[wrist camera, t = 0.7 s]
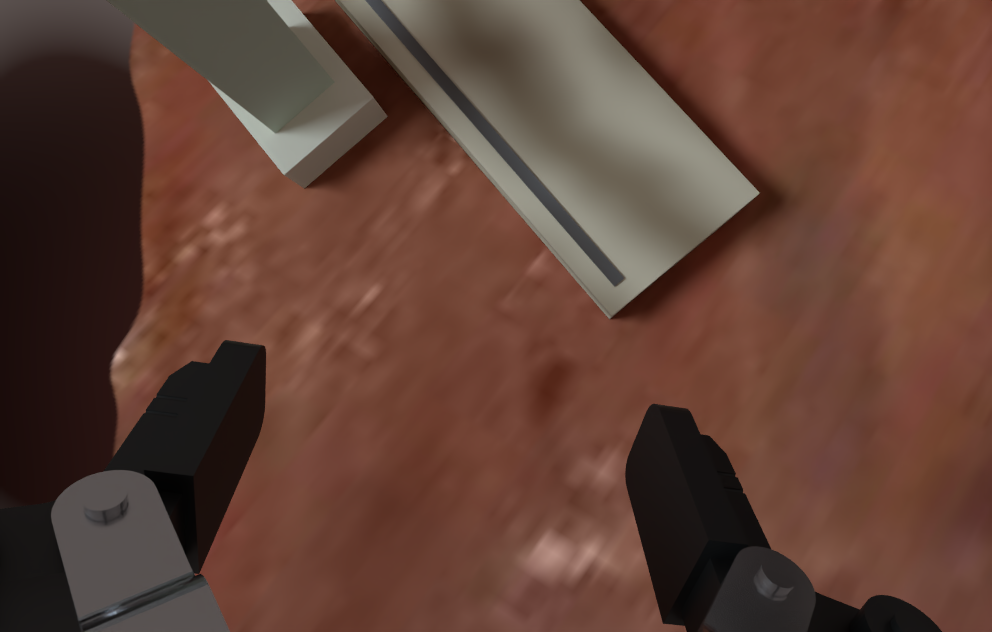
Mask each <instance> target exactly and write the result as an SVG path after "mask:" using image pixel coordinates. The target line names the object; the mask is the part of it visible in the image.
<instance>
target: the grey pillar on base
mask: <svg viewBox="0 0 992 632" xmlns="http://www.w3.org/2000/svg"><path fill="white" fill-rule="evenodd" d="M107 1H108V2H109V3H110V4H112V5H113V6H114V7H116V8H117V9H118V10H120V11H121V12H122V13H123V14H124V15H126V16H127V17H128V18H129V19H131V20H132V21H133V22H134V23H136V24H137V25H138V26H140V27H141V28H142V29H143V30H145V31H146V32H147V33H148V34H150V35H151V36H152V37H154V38H155V39H156V40H157V41H159V42H160V43H161V44H162V45H164V46H165V47H166V48H168V49H169V50H170V51H171V52H173V53H174V54H175V55H176V56H178V57H179V58H180V59H182V60H183V61H184V62H185V63H187V64H188V65H189V66H190V67H192V68H193V69H194V70H195V71H197V72H198V73H199V74H201V75H202V76H203V77H204V78H206V79H207V80H208V81H209V82H210V83H211V85H212V86H213V87H214V88H215V90H216V91H217V92H218V93H219V95H220V96H221V97H222V98H223V100H224V101H225V102H226V103H227V105H228V106H229V107H230V108H231V110H232V111H233V112H234V113H235V115H236V116H237V117H238V118H239V120H240V121H241V122H242V123H243V125H244V126H245V127H246V128H247V130H248V131H249V132H250V133H251V135H252V136H253V137H254V138H255V140H256V141H257V142H258V143H259V145H260V146H261V147H262V148H263V149H264V151H265V152H266V153H267V154H268V156H269V157H270V158H271V159H272V161H273V162H274V163H275V164H276V166H277V167H278V168H279V169H280V171H281V172H282V173H283V174H284V175H285V176H286V177H288V178H289V179H291V180H292V181H294V182H295V183H297V184H298V185H300V186H301V187H303V188H306V187H307V186H308V185H309V184H310V183H311V182H313V181H314V180H315V179H316V178H317V177H318V176H320V175H321V174H322V173H323V172H324V171H325V170H326V169H328V168H329V167H330V166H331V165H332V164H333V163H335V162H336V161H337V160H338V159H339V158H340V157H342V156H343V155H344V154H345V153H346V152H347V151H348V150H350V149H351V148H352V147H353V146H354V145H355V144H357V143H358V142H359V141H360V140H361V139H362V138H364V137H365V136H366V135H367V134H368V133H369V132H370V131H372V130H373V129H374V128H375V127H376V126H377V125H379V124H380V123H381V122H382V121H383V120H384V119H386V118H387V117H388V116H387V115H386V114H385V112H384V111H383V110H382V108H381V107H380V105H379V104H378V103H377V101H376V100H375V99H374V97H373V96H372V95H371V94H370V93H369V91H368V90H367V89H366V88H365V87H364V86H363V84H362V83H361V82H360V81H359V80H358V78H357V77H356V76H355V75H354V74H353V73H352V71H351V70H350V69H349V68H348V67H347V65H346V64H345V63H344V62H343V61H342V60H341V58H340V57H339V56H338V55H337V54H336V53H335V51H334V50H333V49H332V48H331V47H330V45H329V44H328V43H327V42H326V41H325V40H324V38H323V37H322V36H321V35H320V34H319V32H318V31H317V30H316V29H315V28H314V27H313V25H312V24H311V23H310V22H309V21H308V19H307V18H306V17H305V16H304V15H303V14H302V12H301V11H300V10H299V9H298V8H297V6H296V5H295V4H294V3H293V2H292V1H291V0H107Z"/></svg>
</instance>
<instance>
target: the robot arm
mask: <svg viewBox="0 0 992 632" xmlns="http://www.w3.org/2000/svg"><path fill="white" fill-rule="evenodd" d="M265 385H266V349H265V346H263V345H256V344H249V343H242V342H236V341H229V340H225V341H224V342H223V343H222V344H221V346H220V347H219V349H218V350H217V352H216V354H215V355H214V357H213V359H212V360H211V362H210V363H209V364H208V363H201V362H194V361H191V362H190V363H188V364H187V365H185V366H184V367H182V368H181V369H179V370H178V371H176V372H175V373H173V374H171V375H170V376H169V377H168V379H167V380H166V382H165V383H164V385H163V386H162V387H161V389H160V390H159V392H158V393H157V397H156V398H154V399H153V400H152V402H151V403H150V405H149V406H148V408H147V409H146V413H145V414H143V415H142V416H141V418H140V419H139V421H138V422H137V424H136V425H135V427H134V428H133V429H132V431H131V432H130V434H129V435H128V437H127V438H126V440H125V441H124V443H123V444H122V445H121V447H120V448H119V450H118V451H117V453H116V454H115V456H114V457H113V458H112V460H111V461H110V463H109V464H108V466H107V467H106V469H105V470H104V471H103V472H100V473H96V474H93V475H90V476H87V477H85V478H83V479H81V480H79V481H77V482H76V483H74V484H72V485H71V486H70V487H68V488H67V489H66V490H65V491H64V492H63V493H62V494H61V495H60V496H59V497H58V499H57V500H56V501H53V502H48V503H43V504H37V505H29V506H21V507H13V508H5V509H0V632H230V631H229V629H228V627H227V624H226V622H225V620H224V618H223V615H222V613H221V611H220V609H219V606H218V604H217V602H216V600H215V598H214V595H213V593H212V591H211V589H210V587H209V584H208V583H207V581H206V579H205V578H204V576H203V575H201V574H199V573H200V571H201V568H202V566H203V564H204V561H205V559H206V557H207V555H208V552H209V550H210V548H211V545H212V543H213V541H214V538H215V536H216V534H217V531H218V529H219V527H220V524H221V522H222V520H223V517H224V515H225V513H226V511H227V508H228V506H229V504H230V501H231V499H232V497H233V494H234V492H235V490H236V487H237V485H238V483H239V480H240V478H241V476H242V474H243V471H244V469H245V467H246V464H247V462H248V460H249V457H250V455H251V453H252V450H253V448H254V446H255V443H256V441H257V439H258V436H259V434H260V431H261V427H262V423H263V418H264V412H265ZM735 474H736V473H735V471H734V469H733V467H732V465H731V463H730V461H729V458H728V456H727V454H726V453H725V452H724V451H723V450H722V449H721V448H720V447H719V446H718V445H717V444H716V442H715V441H714V440H713V439H712V438H711V437H710V436H708V435H701V434H700V432H699V430H698V428H697V425H696V423H695V421H694V419H693V416H692V414H691V412H690V411H689V410H688V409H685V408H679V407H672V406H665V405H658V404H652V405H651V406H650V407H649V408H648V410H647V412H646V414H645V417H644V419H643V421H642V424H641V426H640V429H639V431H638V434H637V436H636V439H635V441H634V443H633V446H632V448H631V451H630V453H629V456H628V459H627V463H626V472H625V477H626V486H627V490H628V494H629V497H630V501H631V505H632V509H633V512H634V516H635V520H636V524H637V527H638V531H639V535H640V539H641V542H642V546H643V550H644V554H645V558H646V561H647V565H648V569H649V573H650V576H651V580H652V584H653V588H654V591H655V595H656V599H657V603H658V607H659V610H660V614H661V618H662V622H663V624H673V625H683V626H685V627H686V631H687V632H942V631H941V630H940V629H939V627H938V626H937V625H936V624H935V623H934V622H933V621H932V620H931V619H930V618H929V617H928V616H926V615H925V614H924V613H923V612H921V611H920V610H919V609H917V608H916V607H914V606H912V605H911V604H909V603H907V602H905V601H903V600H901V599H898V598H895V597H892V596H887V595H876V596H873V597H871V598H870V599H868V600H867V602H866V603H865V604H864V606H863V607H862V608H861V609H860V610H859V609H857V608H854V607H852V606H849V605H847V604H844V603H842V602H839V601H836V600H834V599H831V598H829V597H826V596H824V595H821V594H819V593H817V592H815V591H814V588H813V586H812V584H811V582H810V580H809V579H808V577H807V576H806V574H805V573H804V572H803V571H802V570H801V569H800V568H799V567H798V566H797V565H796V564H795V563H794V562H792V561H791V560H790V559H788V558H787V557H785V556H784V555H782V554H780V553H778V552H776V551H774V550H771V548H770V545H769V543H768V541H767V539H766V537H765V535H764V533H763V531H762V528H761V526H760V524H759V522H758V520H757V518H756V516H755V514H754V512H753V509H752V507H751V505H750V503H749V501H748V499H747V497H746V495H745V494H744V493H743V488H742V486H741V484H740V482H739V480H738V478H737V477H735ZM194 573H196V574H199V575H197V576H195V574H194Z"/></svg>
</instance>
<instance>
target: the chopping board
mask: <svg viewBox="0 0 992 632" xmlns="http://www.w3.org/2000/svg"><path fill="white" fill-rule="evenodd" d="M335 1H336V2H337V3H338V4H339V6H340V7H341V8H342V9H343V10H344V11H345V13H346V14H347V15H348V16H349V17H350V18H351V20H352V21H353V22H354V23H355V24H356V25H357V27H358V28H359V29H360V30H361V31H362V32H363V33H364V35H365V36H366V37H367V38H368V39H369V40H370V42H371V43H372V44H373V45H374V46H375V47H376V49H377V50H378V51H379V52H380V53H381V54H382V56H383V57H384V58H385V59H386V60H387V61H388V63H389V64H390V65H391V66H392V67H393V68H394V69H395V71H396V72H397V73H398V74H399V75H400V76H401V78H402V79H403V80H404V81H405V82H406V83H407V85H408V86H409V87H410V88H411V89H412V90H413V92H414V93H415V94H416V95H417V96H418V97H419V99H420V100H421V101H422V102H423V103H424V104H425V105H426V107H427V108H428V109H429V110H430V111H431V112H432V114H433V115H434V116H435V117H436V118H437V119H438V121H439V122H440V123H441V124H442V125H443V126H444V128H445V129H446V130H447V131H448V132H449V133H450V135H451V136H452V137H453V138H454V139H455V140H456V141H457V143H458V144H459V145H460V146H461V147H462V148H463V150H464V151H465V152H466V153H467V154H468V155H469V157H470V158H471V159H472V160H473V161H474V162H475V164H476V165H477V166H478V167H479V168H480V169H481V171H482V172H483V173H484V174H485V175H486V176H487V178H488V179H489V180H490V181H491V182H492V183H493V184H494V186H495V187H496V188H497V189H498V190H499V191H500V193H501V194H502V195H503V196H504V197H505V198H506V200H507V201H508V202H509V203H510V204H511V205H512V207H513V208H514V209H515V210H516V211H517V212H518V214H519V215H520V216H521V217H522V218H523V219H524V220H525V222H526V223H527V224H528V225H529V226H530V227H531V229H532V230H533V231H534V232H535V233H536V234H537V236H538V237H539V238H540V239H541V240H542V241H543V243H544V244H545V245H546V246H547V247H548V248H549V250H550V251H551V252H552V253H553V254H554V255H555V256H556V258H557V259H558V260H559V261H560V262H561V263H562V265H563V266H564V267H565V268H566V269H567V270H568V272H569V273H570V274H571V275H572V276H573V277H574V279H575V280H576V281H577V282H578V283H579V284H580V286H581V287H582V288H583V289H584V290H585V291H586V292H587V294H588V295H589V296H590V297H591V298H592V299H593V301H594V302H595V303H596V304H597V305H598V306H599V308H600V309H601V310H602V311H603V312H604V313H605V315H606V316H607V317H608V318H609V319H610V318H611V317H613V316H614V315H615V314H616V313H617V312H619V311H620V310H621V309H622V308H624V307H625V306H626V305H627V304H628V303H630V302H631V301H632V300H633V299H634V298H636V297H637V296H638V295H639V294H640V293H642V292H643V291H644V290H645V289H646V288H648V287H649V286H650V285H651V284H652V283H654V282H655V281H656V280H657V279H658V278H660V277H661V276H662V275H663V274H664V273H666V272H667V271H668V270H669V269H670V268H672V267H673V266H674V265H675V264H676V263H678V262H679V261H680V260H681V259H682V258H684V257H685V256H686V255H687V254H688V253H690V252H691V251H692V250H693V249H694V248H696V247H697V246H698V245H699V244H700V243H702V242H703V241H704V240H705V239H706V238H708V237H709V236H710V235H711V234H712V233H714V232H715V231H716V230H717V229H719V228H720V227H721V226H722V225H723V224H725V223H726V222H727V221H728V220H729V219H731V218H732V217H733V216H734V215H735V214H737V213H738V212H739V211H740V210H741V209H743V208H744V207H745V206H746V205H747V204H749V203H750V202H751V201H752V200H753V199H754V198H755V197H756V196H757V195H758V194H759V192H758V191H757V190H756V188H755V187H754V186H753V185H752V184H751V183H750V182H749V181H748V180H747V179H746V178H745V177H744V176H743V175H742V173H741V172H740V171H739V170H738V169H737V168H736V167H735V166H734V165H733V164H732V163H731V162H730V161H729V160H728V159H727V157H726V156H725V155H724V154H723V153H722V152H721V151H720V150H719V149H718V148H717V147H716V146H715V145H714V144H713V142H712V141H711V140H710V139H709V138H708V137H707V136H706V135H705V134H704V133H703V132H702V131H701V130H700V129H699V128H698V126H697V125H696V124H695V123H694V122H693V121H692V120H691V119H690V118H689V117H688V116H687V115H686V114H685V113H684V111H683V110H682V109H681V108H680V107H679V106H678V105H677V104H676V103H675V102H674V101H673V100H672V99H671V98H670V97H669V95H668V94H667V93H666V92H665V91H664V90H663V89H662V88H661V87H660V86H659V85H658V84H657V83H656V82H655V80H654V79H653V78H652V77H651V76H650V75H649V74H648V73H647V72H646V71H645V70H644V69H643V68H642V67H641V65H640V64H639V63H638V62H637V61H636V60H635V59H634V58H633V57H632V56H631V55H630V54H629V53H628V52H627V51H626V49H625V48H624V47H623V46H622V45H621V44H620V43H619V42H618V41H617V40H616V39H615V38H614V37H613V36H612V34H611V33H610V32H609V31H608V30H607V29H606V28H605V27H604V26H603V25H602V24H601V23H600V22H599V21H598V20H597V18H596V17H595V16H594V15H593V14H592V13H591V12H590V11H589V10H588V9H587V8H586V7H585V6H584V5H583V3H582V2H581V1H580V0H335Z"/></svg>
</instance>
